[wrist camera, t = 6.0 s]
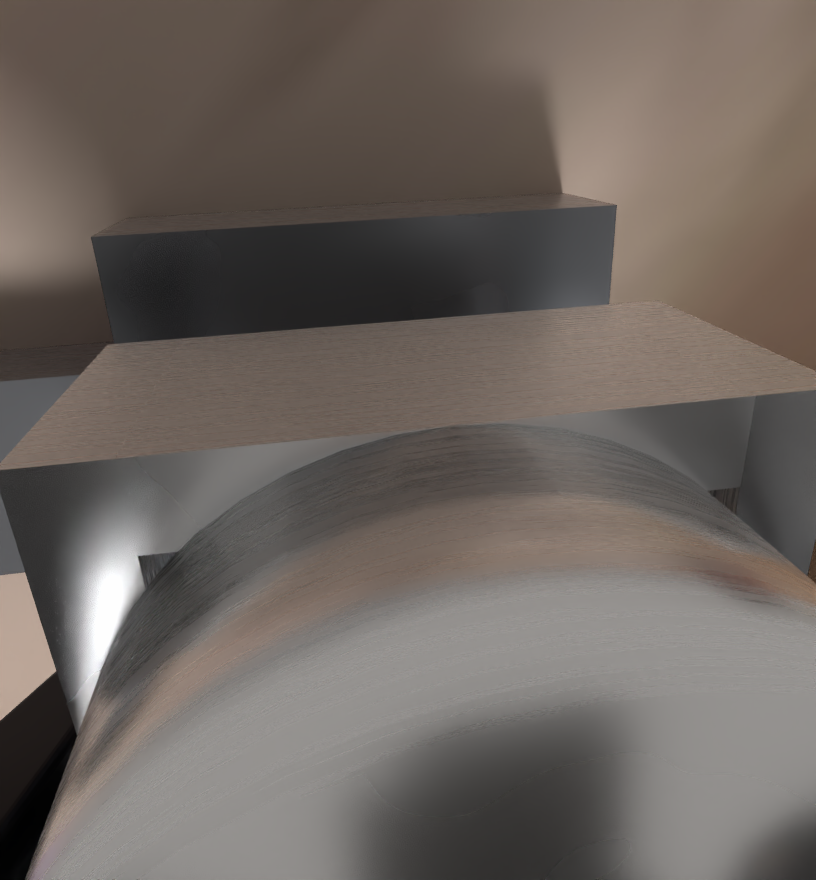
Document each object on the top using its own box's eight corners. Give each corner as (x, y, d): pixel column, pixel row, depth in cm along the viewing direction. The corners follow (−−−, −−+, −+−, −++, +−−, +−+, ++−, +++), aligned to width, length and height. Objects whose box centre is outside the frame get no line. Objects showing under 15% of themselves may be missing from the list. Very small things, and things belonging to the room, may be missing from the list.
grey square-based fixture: (659, 300, 8) (1326, 600, 3) (617, 703, 11) (934, 1259, 6) (107, 344, 8) (-352, 854, 2) (202, 765, 10) (95, 1479, 5)
